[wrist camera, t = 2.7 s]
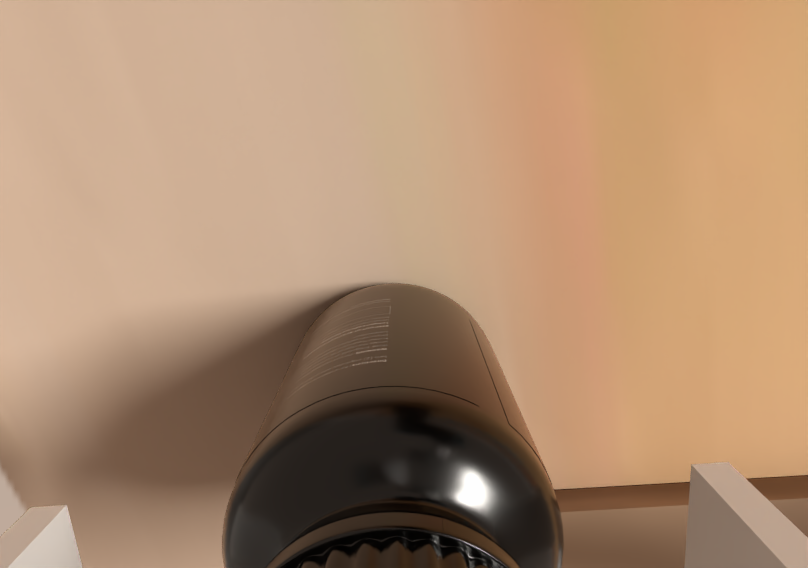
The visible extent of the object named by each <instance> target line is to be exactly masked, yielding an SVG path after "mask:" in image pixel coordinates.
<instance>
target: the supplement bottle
mask: <svg viewBox="0 0 808 568" xmlns="http://www.w3.org/2000/svg"><path fill="white" fill-rule="evenodd" d="M563 550H564V536H563V524H562V518H561V512H560V508H559V505H558V501H557V498H556V495H555V492H554V489H553V487H552V483H551V481H550V478H549V476H548V474H547V471H546V469H545V466H544V464H543V462H542V460H541V457H540V455H539V453H538V450H537V448H536V446H535V444H534V441H533V439H532V437H531V435H530V432H529V430H528V428H527V426H526V423H525V421H524V419H523V416H522V414H521V412H520V410H519V407H518V405H517V403H516V401H515V398H514V396H513V394H512V392H511V389H510V387H509V385H508V383H507V380H506V378H505V376H504V373H503V371H502V369H501V367H500V364H499V362H498V360H497V358H496V355H495V353H494V351H493V349H492V347H491V345H490V343H489V341H488V339H487V337H486V335H485V333H484V332H483V330H482V329H481V327H480V326H479V325H478V323H477V322H476V321H475V319H474V318H473V317H472V316H471V315H470V314H469V313H468V312H467V311H466V310H465V309H464V308H463V307H461V306H460V305H459V304H457V303H456V302H455V301H453V300H452V299H450V298H448V297H447V296H445V295H443V294H441V293H439V292H436V291H433V290H431V289H428V288H424V287H421V286H416V285H410V284H381V285H375V286H370V287H366V288H363V289H360V290H357V291H355V292H352V293H350V294H348V295H346V296H344V297H343V298H341V299H339V300H338V301H336V302H335V303H333V304H332V305H331V306H329V307H328V308H327V309H326V310H325V311H324V312H323V313H322V314H321V315H320V316H319V317H318V318H317V319H316V320H315V322H314V323H313V324H312V325H311V327H310V328H309V330H308V331H307V333H306V334H305V336H304V338H303V340H302V342H301V344H300V346H299V348H298V350H297V352H296V354H295V356H294V358H293V360H292V362H291V364H290V366H289V369H288V371H287V373H286V375H285V377H284V379H283V381H282V384H281V386H280V388H279V390H278V392H277V394H276V396H275V398H274V401H273V403H272V405H271V407H270V409H269V411H268V413H267V415H266V418H265V420H264V422H263V424H262V426H261V428H260V430H259V432H258V435H257V437H256V439H255V441H254V443H253V445H252V447H251V450H250V452H249V454H248V456H247V458H246V460H245V462H244V465H243V467H242V469H241V471H240V473H239V475H238V478H237V480H236V483H235V486H234V489H233V491H232V494H231V497H230V500H229V503H228V505H227V510H226V514H225V518H224V526H223V535H222V554H223V562H224V568H561V567H562V561H563Z"/></svg>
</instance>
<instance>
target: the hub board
mask: <svg viewBox="0 0 808 568" xmlns="http://www.w3.org/2000/svg"><path fill="white" fill-rule="evenodd" d="M747 480H748V481H749V482H750V483H751V484H752V485H753V486H754V487H755V488H756V489H757V490H758V491H759V492H760V493H761V494H762V495H763V496H765V497H766V498H767V499H768V500H769V501H770V502H771V503H772V504H773V505H774V506H775V507H776V508H777V509H778V510H779V511H780V512H781V513H782V514H783V515H784V516H786V517H787V518H788V519H789V520H790V521H791V522H792V523H793V524H794V525H795V526H796V527H797V528H798V529H799V530H800V531H801V532H802V533H803V534H804V535H805V536H807V537H808V476H793V477H776V478H758V479H747ZM554 492H555V495H556V498H557V501H558V505H559V508H560V512H561V518H562V524H563V536H564V550H563V561H562V567H561V568H684V566H685V552H686V537H687V522H688V507H689V492H690V482H689V483H672V484H655V485H637V486H620V487H603V488H586V489H568V490H554Z"/></svg>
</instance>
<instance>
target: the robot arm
mask: <svg viewBox="0 0 808 568" xmlns="http://www.w3.org/2000/svg"><path fill="white" fill-rule="evenodd" d="M0 568H83V567H82V563H81V559H80V555H79V551H78V547H77V543H76V539H75V535H74V531H73V527H72V523H71V520H70V516H69V512H68V508H67V505H57V506H42V507H31V508H29V509H28V510H27V511H26V512H25V513H24V514H23V515H22V516H21V517H20V518H19V519H18V520H17V521H16V522H15V523H14V524H13V525H12V526H11V527H10V528H9V529H8V530H7V531H6V532H5V533H4V534H3V535H2V536H0ZM684 568H808V537H807V536H805V535H804V534H803V533H802V532H801V531H800V530H799V529H798V528H797V527H796V526H795V525H794V524H793V523H792V522H791V521H790V520H789V519H788V518H787V517H786V516H784V515H783V514H782V513H781V512H780V511H779V510H778V509H777V508H776V507H775V506H774V505H773V504H772V503H771V502H770V501H769V500H768V499H767V498H766V497H765V496H763V495H762V494H761V493H760V492H759V491H758V490H757V489H756V488H755V487H754V486H753V485H752V484H751V483H750V482H749V481H748V480H747V479H746V478H745V477H744V476H743V475H741V474H740V473H739V472H738V471H737V470H736V469H735V468H734V467H733V466H732V465H731V464H730V463H729V462H720V463H705V464H691V477H690V492H689V507H688V522H687V537H686V552H685V566H684Z"/></svg>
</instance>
